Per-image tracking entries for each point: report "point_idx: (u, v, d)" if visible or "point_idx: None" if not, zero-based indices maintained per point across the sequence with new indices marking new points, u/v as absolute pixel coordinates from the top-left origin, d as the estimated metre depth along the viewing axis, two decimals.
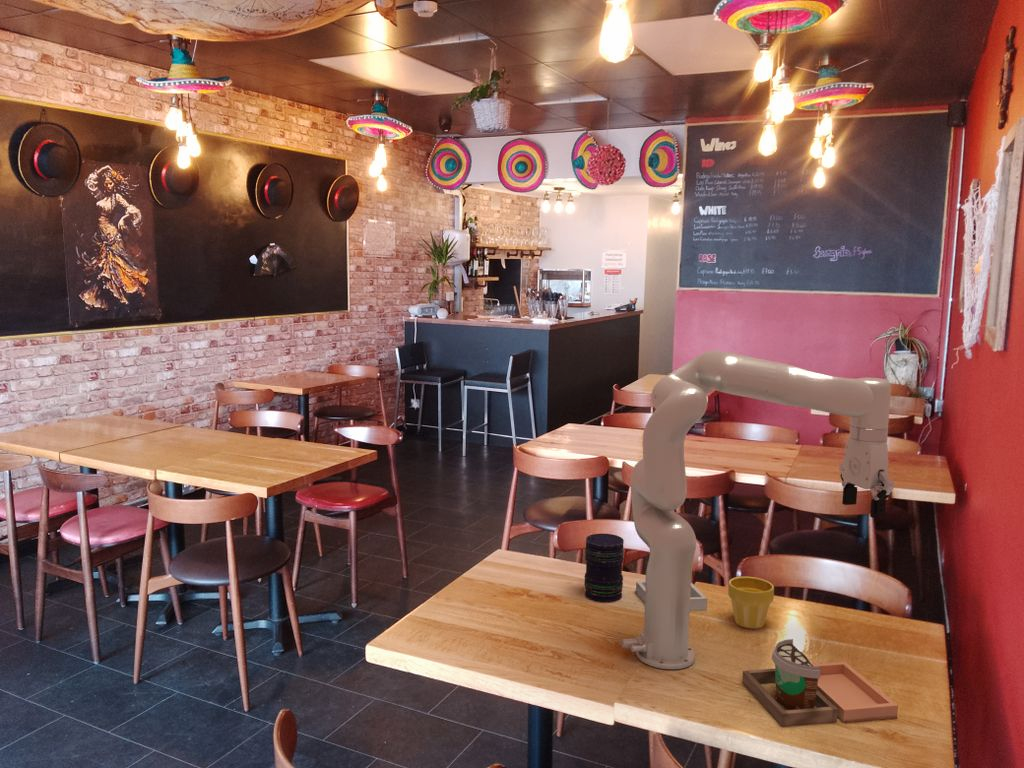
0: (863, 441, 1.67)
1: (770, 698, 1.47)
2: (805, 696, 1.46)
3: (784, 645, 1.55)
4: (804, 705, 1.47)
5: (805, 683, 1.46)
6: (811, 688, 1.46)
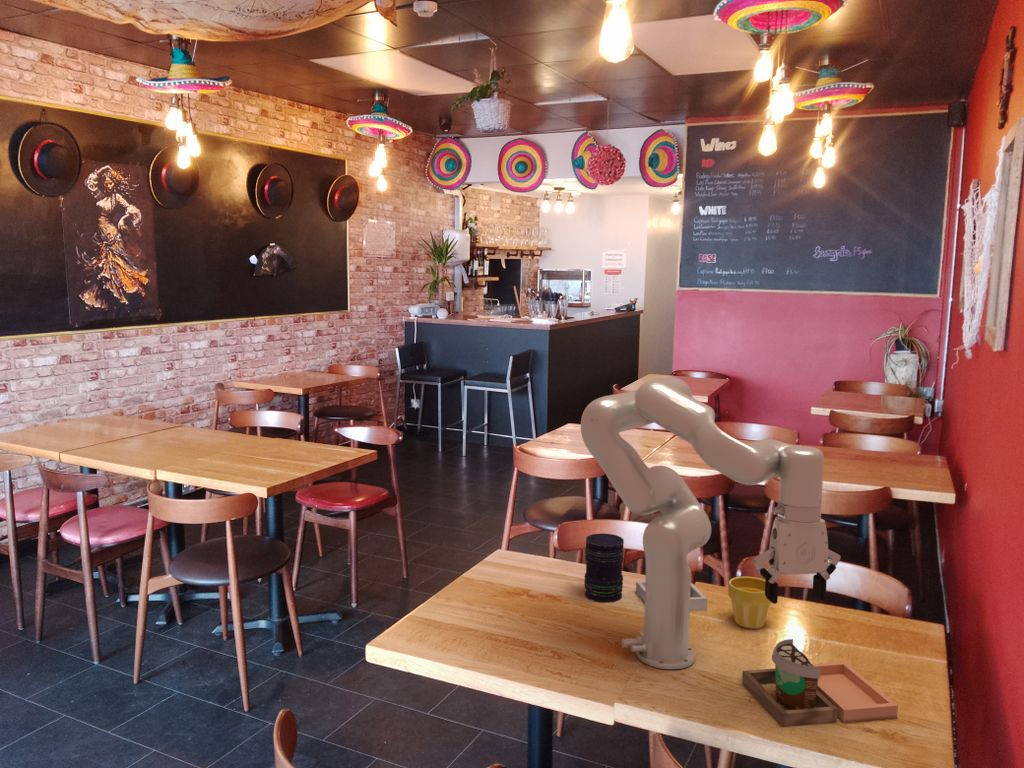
0: (818, 520, 1.44)
1: (770, 698, 1.47)
2: (805, 696, 1.46)
3: (784, 645, 1.55)
4: (804, 705, 1.47)
5: (805, 683, 1.46)
6: (811, 688, 1.46)
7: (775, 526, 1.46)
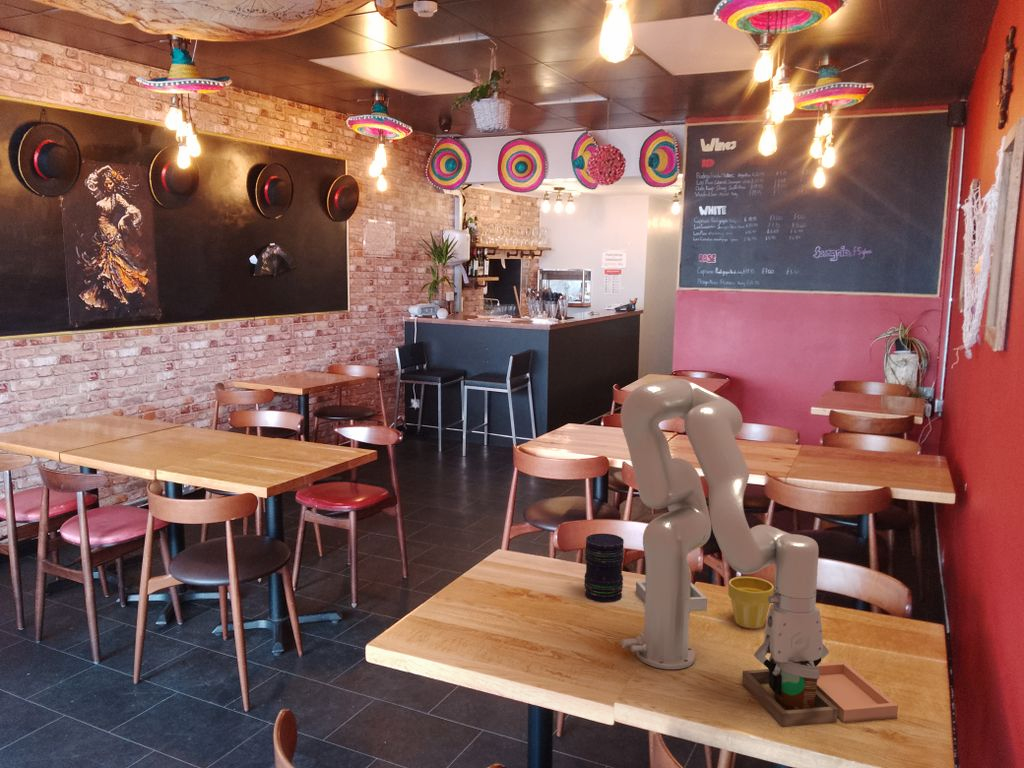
0: (813, 610, 1.46)
1: (770, 698, 1.47)
2: (804, 696, 1.46)
3: None
4: (803, 706, 1.46)
5: (804, 684, 1.45)
6: (810, 688, 1.45)
7: (770, 614, 1.48)
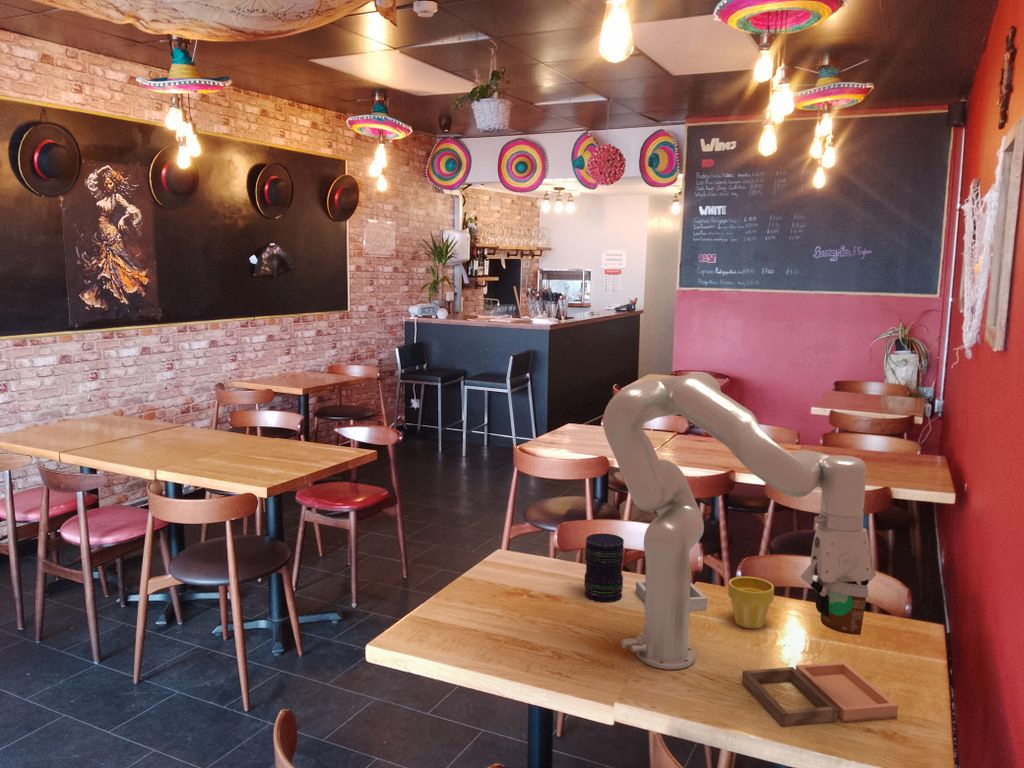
0: (861, 529, 1.45)
1: (770, 698, 1.47)
2: (852, 616, 1.45)
3: None
4: (851, 626, 1.46)
5: (852, 603, 1.45)
6: (858, 608, 1.45)
7: (817, 535, 1.48)
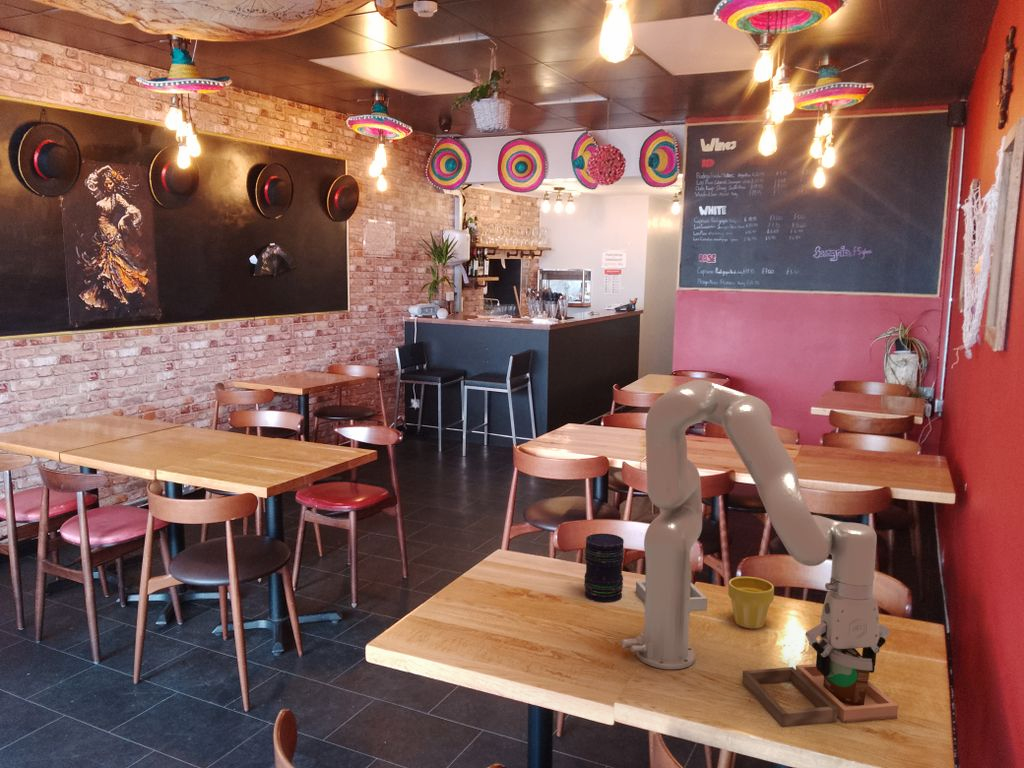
0: (870, 597, 1.48)
1: (770, 698, 1.47)
2: (856, 688, 1.48)
3: None
4: (855, 697, 1.48)
5: (856, 675, 1.48)
6: (862, 680, 1.48)
7: (827, 601, 1.50)
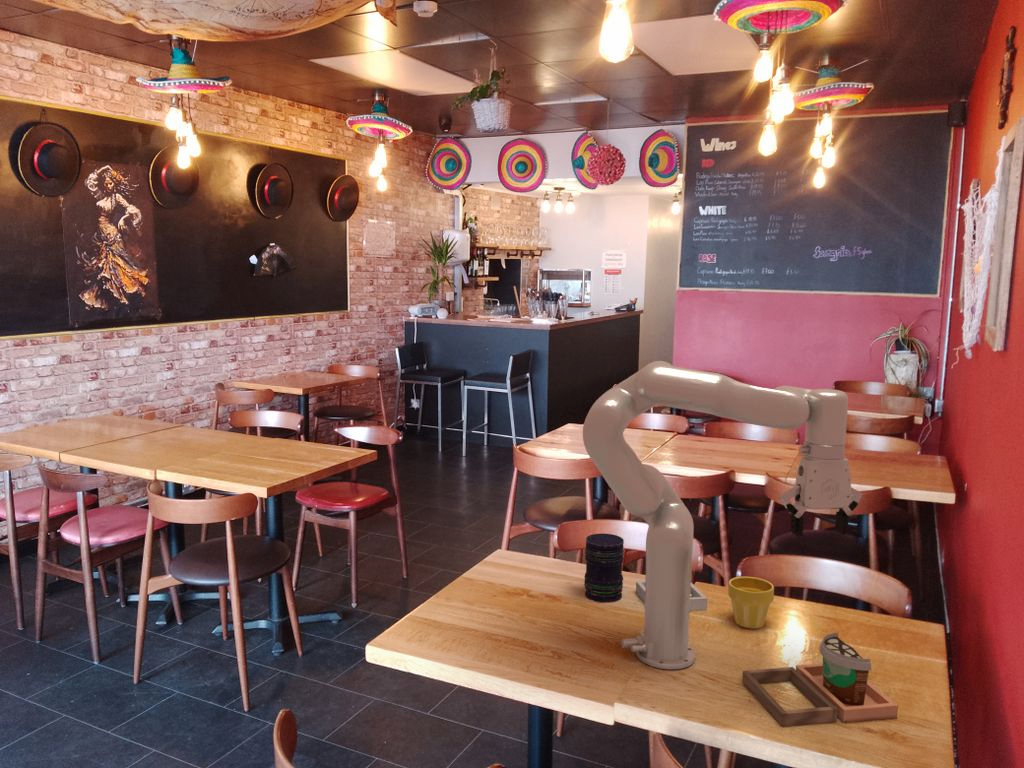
0: (842, 458, 1.53)
1: (770, 698, 1.47)
2: (855, 688, 1.48)
3: (830, 638, 1.57)
4: (855, 697, 1.48)
5: (855, 676, 1.48)
6: (861, 680, 1.48)
7: (801, 464, 1.55)
